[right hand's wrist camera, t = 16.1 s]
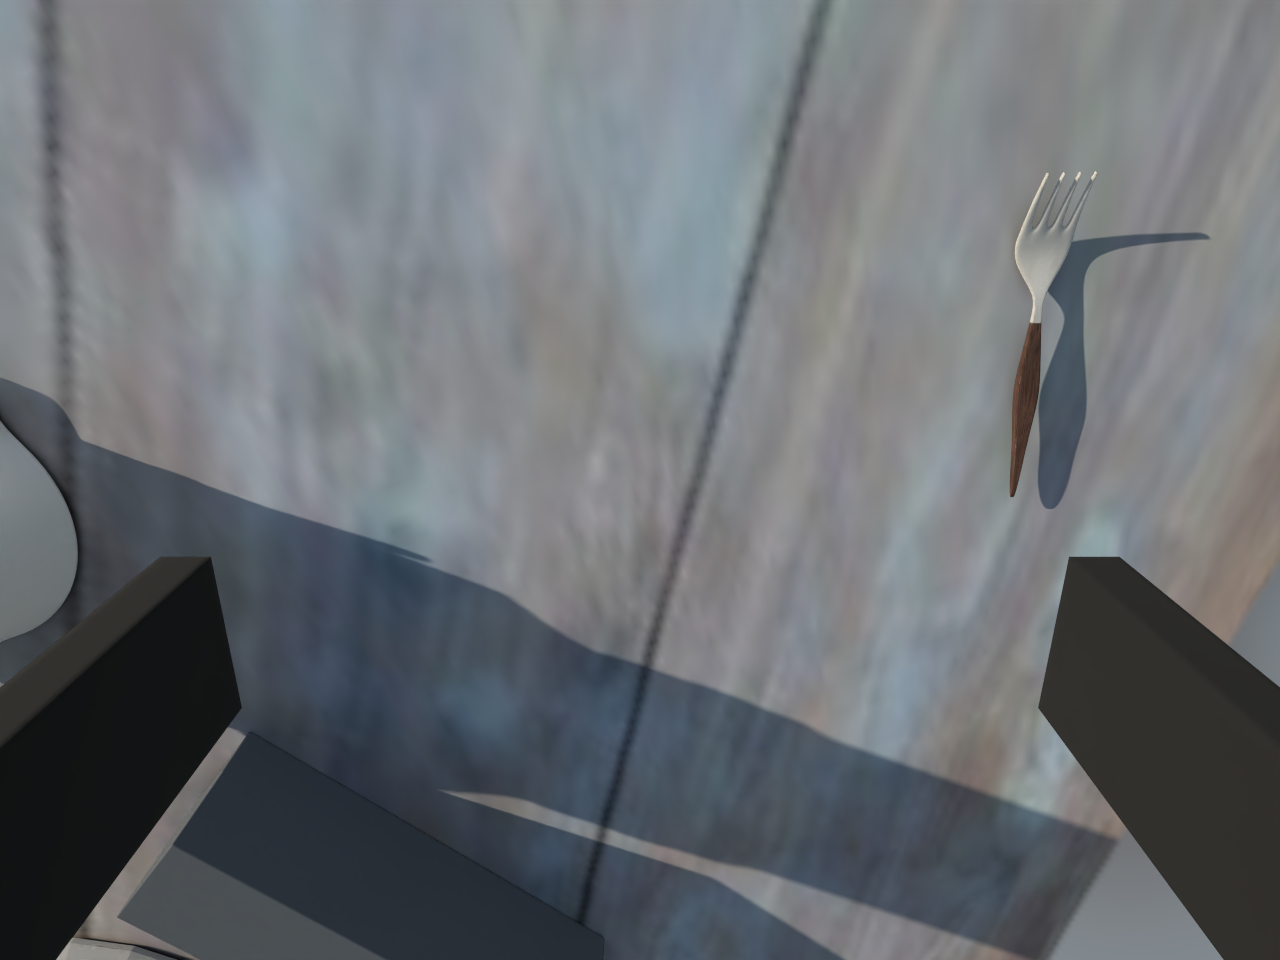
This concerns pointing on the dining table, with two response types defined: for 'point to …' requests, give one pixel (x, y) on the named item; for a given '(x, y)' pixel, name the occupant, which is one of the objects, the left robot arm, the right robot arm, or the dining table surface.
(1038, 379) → the fork
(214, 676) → the right robot arm
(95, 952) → the wall clock
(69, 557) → the left robot arm
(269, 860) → the box
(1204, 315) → the dining table surface
